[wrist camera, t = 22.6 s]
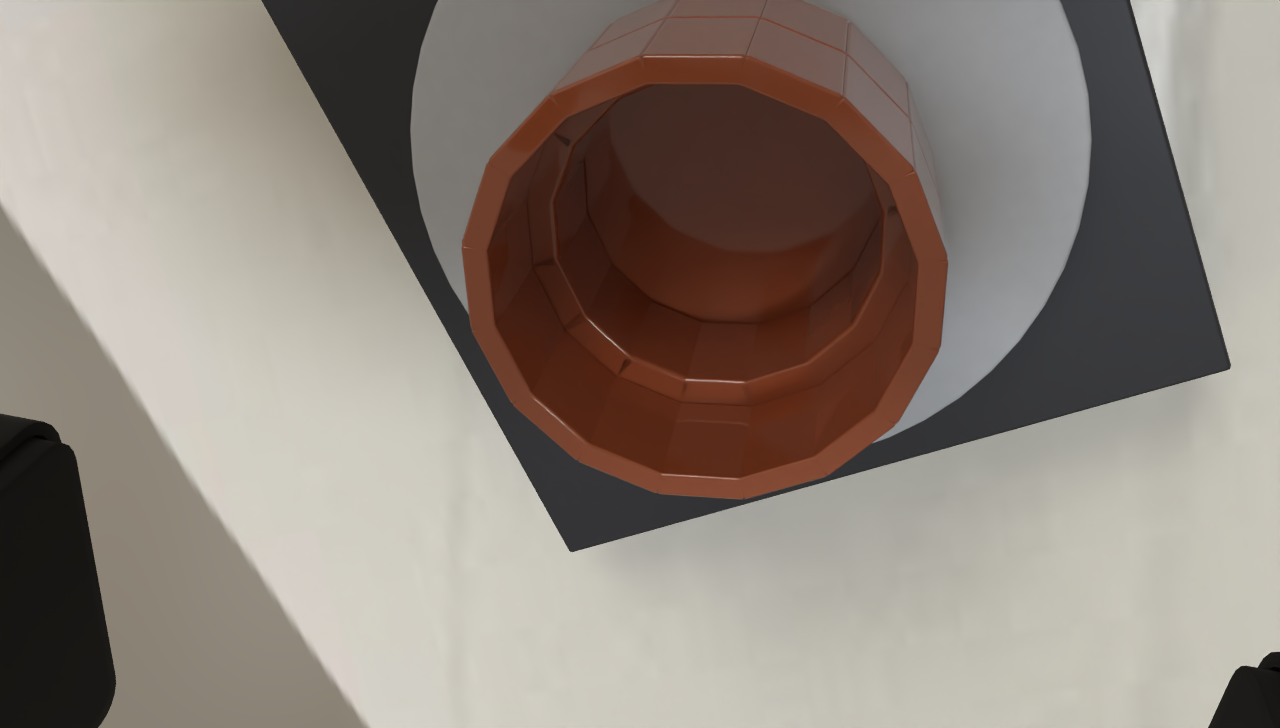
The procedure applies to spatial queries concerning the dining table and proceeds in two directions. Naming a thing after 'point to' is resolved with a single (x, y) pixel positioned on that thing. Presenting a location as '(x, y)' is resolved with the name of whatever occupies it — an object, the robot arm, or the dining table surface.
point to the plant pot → (713, 250)
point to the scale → (967, 182)
